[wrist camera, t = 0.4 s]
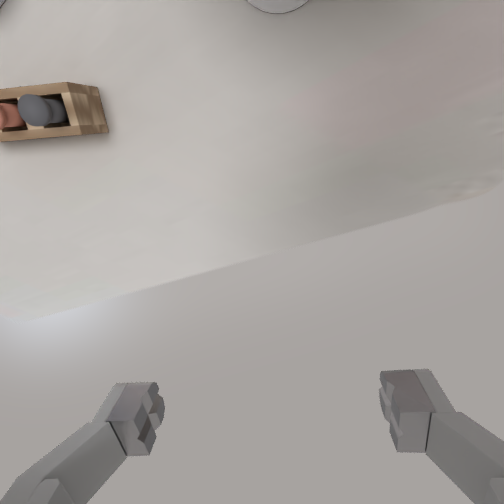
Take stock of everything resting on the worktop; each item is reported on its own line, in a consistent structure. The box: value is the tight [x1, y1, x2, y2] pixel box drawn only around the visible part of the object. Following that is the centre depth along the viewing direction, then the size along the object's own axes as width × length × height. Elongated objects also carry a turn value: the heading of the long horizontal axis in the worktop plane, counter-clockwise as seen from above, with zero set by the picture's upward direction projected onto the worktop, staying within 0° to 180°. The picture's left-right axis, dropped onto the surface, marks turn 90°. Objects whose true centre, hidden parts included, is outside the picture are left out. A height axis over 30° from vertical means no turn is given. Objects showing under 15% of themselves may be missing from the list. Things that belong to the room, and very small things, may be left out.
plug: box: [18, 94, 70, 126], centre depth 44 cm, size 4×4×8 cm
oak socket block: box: [0, 82, 109, 142], centre depth 48 cm, size 7×21×8 cm, turn 94°
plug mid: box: [0, 103, 27, 130], centre depth 45 cm, size 4×4×8 cm
